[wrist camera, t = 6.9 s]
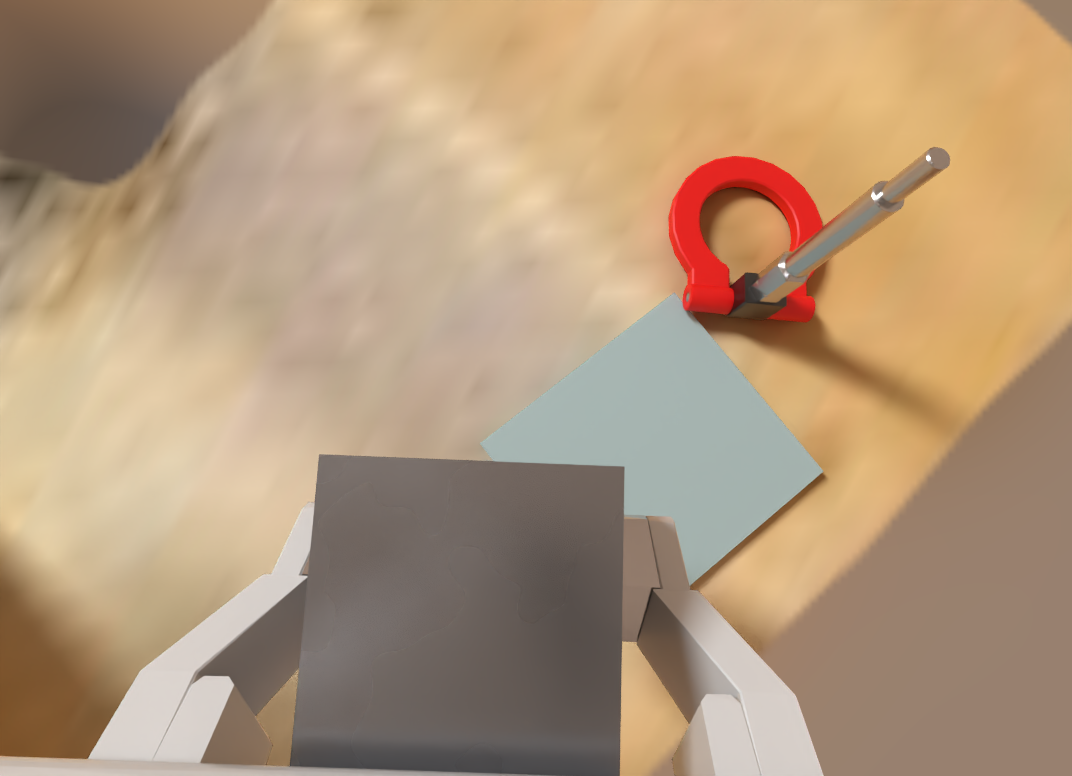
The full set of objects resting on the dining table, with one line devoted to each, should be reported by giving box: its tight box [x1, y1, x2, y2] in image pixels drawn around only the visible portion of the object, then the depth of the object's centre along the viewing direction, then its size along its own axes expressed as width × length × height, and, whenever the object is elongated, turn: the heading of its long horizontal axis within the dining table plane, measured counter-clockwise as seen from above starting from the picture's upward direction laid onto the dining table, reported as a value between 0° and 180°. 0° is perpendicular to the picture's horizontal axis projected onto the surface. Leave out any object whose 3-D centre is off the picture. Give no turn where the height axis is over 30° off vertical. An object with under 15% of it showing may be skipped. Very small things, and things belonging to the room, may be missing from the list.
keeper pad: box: [480, 293, 823, 585], centre depth 28 cm, size 13×12×1 cm
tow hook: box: [669, 147, 950, 323], centre depth 23 cm, size 8×13×9 cm
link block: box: [290, 454, 625, 776], centre depth 11 cm, size 4×4×9 cm
